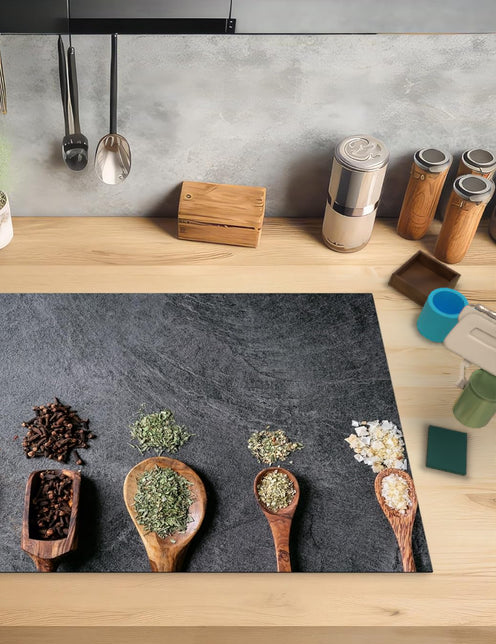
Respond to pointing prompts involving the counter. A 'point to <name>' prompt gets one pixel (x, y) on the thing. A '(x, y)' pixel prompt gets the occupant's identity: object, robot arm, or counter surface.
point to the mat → (447, 450)
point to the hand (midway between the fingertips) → (480, 399)
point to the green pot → (476, 400)
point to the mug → (440, 313)
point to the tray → (422, 277)
